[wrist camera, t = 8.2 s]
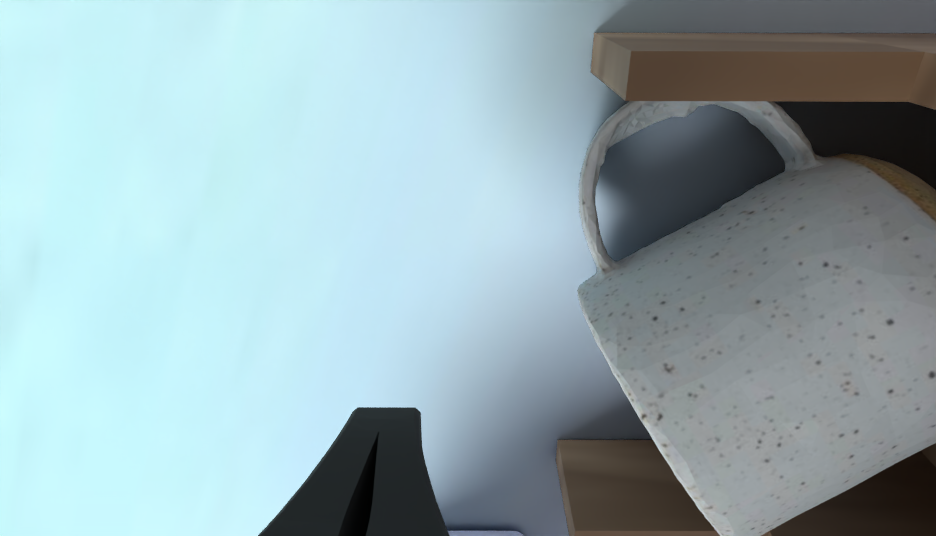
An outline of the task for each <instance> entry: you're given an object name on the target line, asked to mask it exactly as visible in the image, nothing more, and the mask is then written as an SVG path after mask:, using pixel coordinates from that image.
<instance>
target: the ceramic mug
mask: <svg viewBox="0 0 936 536" xmlns="http://www.w3.org/2000/svg"><path fill="white" fill-rule="evenodd" d="M711 104H715V105H718V106H721V107H723V108H726V109H729V110H732V111H735V112H738V113H739V114H741V115H742V116H744V117H745V118H747V120H748V121H749V122H750V123H751V124H752V125H754V126H756V127H758V129H759V130H760V131H761V132H762V133H763V134H764V135H765V137H766V138H767V139H768V140H769V141H770V142H771V143H772V144H773V145H774V146H775V148H776V149H777V151H778V152H779V154H780V155H781V157H782V158H783V160H784V162H785V171H784V172H783V173H780V174H778V175H777V176H775V177H773V178H771V179H769V180H767V181H765V182H763V183H761V184H758V185H756V186H755V187H754V188H752V189H750V190H748V191H747V192H745V193H744V194H743V195H741V196H739V197H737V198H735V199H733V200H731V201H729V202H727V203H725V204H723V205H722V206H721V208H719V209H717V210H715V211H713V212H712V213H710V214H708V215H706V216H705V217H703V218H700V219H698V220H696V221H695V222H693V223H690V224H688V225H686V226H684V227H683V228H681V229H679V230H677V231H675V232H673V233H670V234H669V235H667V236H665V237H663V238H661V239H659V240H657V241H656V242H654V243H652V244H650V245H648V246H647V247H644V248H641V249H639V250H638V251H636V252H634V253H633V254H631V255H630V256H628V257H626V258H623V259H621V260H619V261H614V260H613V259H612V258H611V257H610V256H609V255H608V254H607V251H606V249H605V246H604V244H603V241H602V238H601V235H600V231H599V225H598V218H597V212H596V205H595V190H596V185H597V182H598V178H599V173H600V167H601V166H602V164H603V163H604V159H605V154H606V152H607V151H608V149H609V148H611V147H612V146H613V145H614V144H615V143H617V142H619V141H621V140H623V139H625V138H627V137H629V136H630V135H632V134H634V133H636V132H638V131H639V130H641V129H643V128H646V127H648V126H650V125H652V124H654V123H656V122H659V121H662V120H664V119H667V118H670V117H673V116H676V117H686V116H688V115H689V114H691V113H692V112H694V111H695V110H696V109H697V108H698V106H706V105H711ZM579 211H580V216H581V221H582V227H583V231H584V234H585V237H586V240H587V244H588V247H589V249H590V252H591V254H592V256H593V259H594V261H595V263H596V266H597V273H596V274H595V275H594V276H592V277H591V278H589V279H588V280H586V281H585V282H583V283H582V284H581V285H580V286H579V288H578V290H577V291H578V299H579V303H580V306H581V309H582V312H583V314H584V317H585V319H586V322H587V324H588V326H589V328H590V330H591V332H592V334H593V337H594V339H595V341H596V343H597V345H598V346H599V348H600V350H601V351H602V353H603V355H604V357H605V359H606V361H607V362H608V364H609V366H610V368H611V371H612V373H613V374H614V376H615V377H616V379H617V381H618V382H619V384H620V385H621V388H622V390H623V391H624V393H625V395H626V396H627V398H628V399H629V401H630V403H631V404H632V406H633V408H634V410H635V411H636V413H637V415H638V417H639V419H640V420H641V422H642V423H643V424H644V426H645V427H646V429H647V431H648V432H649V434H650V436H651V437H652V439H653V441H654V442H655V444H656V446H657V447H658V449H659V451H660V452H661V454H662V455H663V457H664V458H665V460H666V461H667V463H668V464H669V466H670V467H671V469H672V471H673V473H674V474H675V476H676V478H677V479H678V480H679V482H680V483H681V484H682V485H683V487H684V488H685V490H686V491H687V493H688V494H689V496H690V497H691V498H692V500H693V501H694V502H695V504H696V506H697V507H698V509H699V510H700V511H701V512H702V514H703V515H704V517H705V518H706V519H707V520H708V521H709V522H710V524H711V525H712V526H713V527H714V528H715V530H716V531H717V532H718V534H719V535H720V536H761V535H763V534H765V533H766V532H768V531H770V530H772V529H774V528H776V527H777V526H779V525H781V524H783V523H785V522H786V521H788V520H790V519H792V518H794V517H796V516H797V515H799V514H801V513H803V512H805V511H807V510H809V509H811V508H813V507H815V506H817V505H819V504H821V503H823V502H825V501H827V500H829V499H831V498H833V497H835V496H837V495H839V494H841V493H843V492H845V491H846V490H848V489H850V488H852V487H854V486H856V485H857V484H859V483H861V482H863V481H865V480H866V479H868V478H870V477H872V476H874V475H875V474H877V473H879V472H881V471H883V470H885V469H886V468H888V467H890V466H892V465H894V464H895V463H897V462H899V461H901V460H903V459H905V458H907V457H909V456H911V455H913V454H915V453H917V452H919V451H921V450H923V449H925V448H927V447H929V446H931V445H933V444H935V443H936V190H935V189H934V188H932V187H931V186H930V185H928V184H927V183H926V182H924V181H923V180H922V179H920V178H919V177H917V176H915V175H914V174H912V173H910V172H908V171H906V170H904V169H902V168H900V167H899V166H897V165H895V164H892V163H889V162H886V161H883V160H879V159H875V158H871V157H868V156H864V155H856V154H846V153H843V154H839V155H834V156H829V157H825V158H824V157H821V156H819V155H816V154H815V153H814V152H813V149H812V146H811V143H810V141H809V140H808V139H807V137H806V136H805V135H804V134H803V132H802V130H801V128H800V126H799V125H798V124H797V123H796V122H795V121H794V120H792V119H791V118H790V117H789V115H788V114H787V113H786V112H785V111H784V110H783V108H782V107H781V106H779V105H778V104H776V103H775V102H773V101H630V102H628V103H626V104H625V105H623V106H622V107H621V108H620V109H618V110H617V111H616V112H615V113H614V114H612V115H611V116H610V117H609V118H607V119H606V121H605V122H604V123H603V124H602V125H601V126H600V128H599V130H598V131H597V133H596V134H595V136H594V138H593V140H592V142H591V143H590V145H589V147H588V149H587V152H586V155H585V159H584V162H583V166H582V170H581V174H580V182H579Z"/></svg>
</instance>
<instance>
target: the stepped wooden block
mask: <svg viewBox="0 0 936 536" xmlns="http://www.w3.org/2000/svg"><path fill="white" fill-rule="evenodd" d="M591 73H592V74H594V75H595V76H596V77H597V78H598V79H600V80H601V81H602V82H603V83H604V84H606V85H607V86H608V87H609V88H610V89H611V90H613V91H614V92H615V93H616V94H617V95H619V96H620V97H621V98H622V99H623V100H625V101H820V102H911V103H914V104H918V105H921V106H924V107H928V108H931V109H934V110H936V33H594V40H593V51H592V62H591ZM556 465H557V470H558V476H559V481H560V487H561V493H562V498H563V504H564V509H565V515H566V520H567V526H568V532H569V536H720V535H719V534H718V532H717V531H716V530H715V528H714V527H713V526H712V525H711V524H710V522H709V521H708V520H707V519H706V518H705V517H704V515H703V514H702V512H701V511H700V510H699V509H698V507H697V506H696V504H695V502H694V501H693V500H692V498H691V497H690V496H689V494H688V493H687V491H686V490H685V488H684V487H683V485H682V484H681V483H680V482H679V480H678V479H677V478H676V476H675V474H674V473H673V471H672V469H671V467H670V466H669V464H668V463H667V461H666V460H665V458H664V457H663V455H662V454H661V452H660V451H659V449H658V447H657V446H656V444H655V442H654V441H653V440H557V451H556ZM761 536H936V443H935V444H933V445H931V446H929V447H927V448H925V449H923V450H921V451H919V452H917V453H915V454H913V455H911V456H909V457H907V458H905V459H903V460H901V461H899V462H897V463H895V464H894V465H892V466H890V467H888V468H886V469H885V470H883V471H881V472H879V473H877V474H875V475H874V476H872V477H870V478H868V479H866V480H865V481H863V482H861V483H859V484H857V485H856V486H854V487H852V488H850V489H848V490H846V491H845V492H843V493H841V494H839V495H837V496H835V497H833V498H831V499H829V500H827V501H825V502H823V503H821V504H819V505H817V506H815V507H813V508H811V509H809V510H807V511H805V512H803V513H801V514H799V515H797V516H796V517H794V518H792V519H790V520H788V521H786V522H785V523H783V524H781V525H779V526H777V527H776V528H774V529H772V530H770V531H768V532H766V533H765V534H763V535H761Z"/></svg>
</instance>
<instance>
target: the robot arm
mask: <svg viewBox="0 0 936 536" xmlns="http://www.w3.org/2000/svg"><path fill="white" fill-rule="evenodd" d="M258 536H523V535H522V533H519V532H517V531H447V528H446V526H445V523H444V521H443V518H442V515H441V513H440V510H439V507H438V504H437V501H436V499H435V495H434V492H433V489H432V486H431V482H430V479H429V475H428V471H427V468H426V464H425V460H424V455H423V450H422V438H421V413H420V411H418V410H417V409H416V408H357V409H356V410H354V411H353V412H352V414H351V416H350V418H349V419H348V421H347V422H346V424H345V426H344V427H343V429H342V430H341V432H340V433H339V435H338V436H337V438H336V439H335V441H334V442H333V444H332V445H331V447H330V448H329V450H328V451H327V453H326V454H325V455H324V457H323V458H322V459H321V461H320V462H319V463H318V465H317V466H316V467H315V469H314V470H313V472H312V473H311V474H310V476H309V477H308V478H307V480H306V481H305V482H304V483H303V485H302V486H301V487H300V488H299V489H298V491H297V492H296V493H295V494H294V495H293V497H292V498H291V499H290V500H289V501H288V503H287V504H286V505H285V506H284V507H283V509H282V510H281V511H280V512H279V513H278V515H277V516H276V517H275V518H274V519H273V520H272V521H271V522H270V523H269V525H268V526H267V527H266V528H265V529H264V530H263V531H262V532H261V533H260V534H259V535H258Z"/></svg>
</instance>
